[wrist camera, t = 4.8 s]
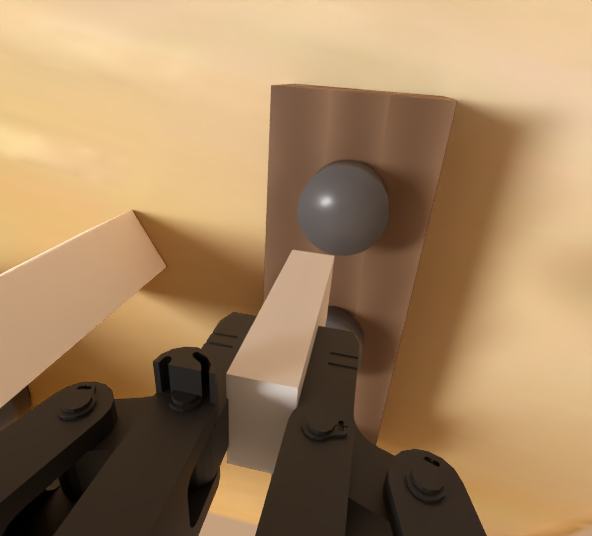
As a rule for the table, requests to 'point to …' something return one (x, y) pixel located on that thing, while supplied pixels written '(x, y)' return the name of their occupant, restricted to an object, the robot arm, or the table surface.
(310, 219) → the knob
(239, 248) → the table surface
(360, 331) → the knob middle
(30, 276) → the milk
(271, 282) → the mount
